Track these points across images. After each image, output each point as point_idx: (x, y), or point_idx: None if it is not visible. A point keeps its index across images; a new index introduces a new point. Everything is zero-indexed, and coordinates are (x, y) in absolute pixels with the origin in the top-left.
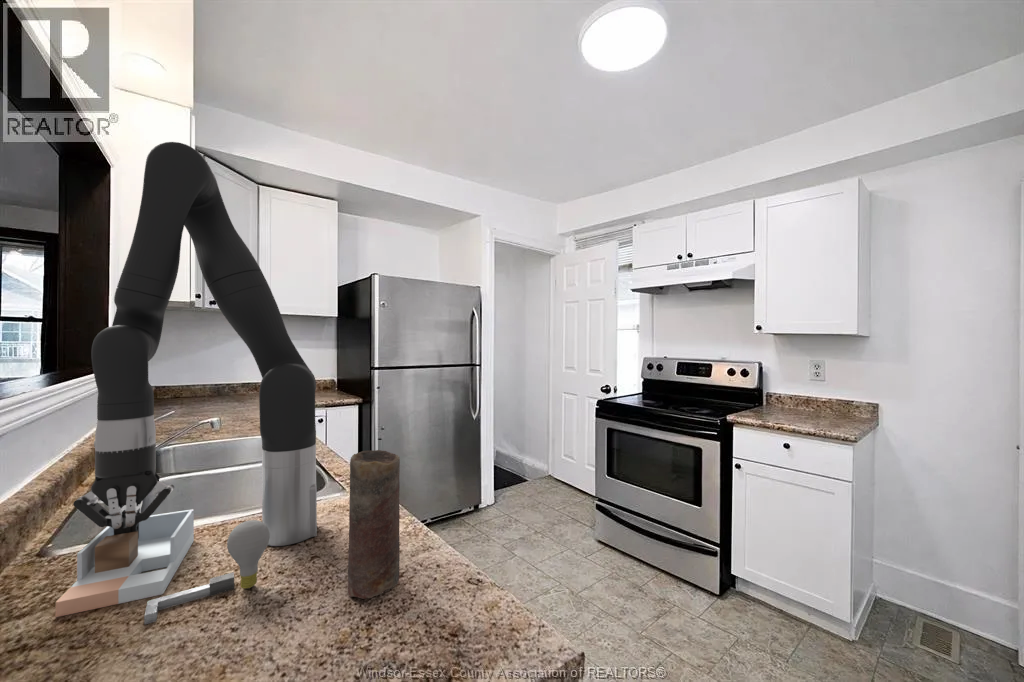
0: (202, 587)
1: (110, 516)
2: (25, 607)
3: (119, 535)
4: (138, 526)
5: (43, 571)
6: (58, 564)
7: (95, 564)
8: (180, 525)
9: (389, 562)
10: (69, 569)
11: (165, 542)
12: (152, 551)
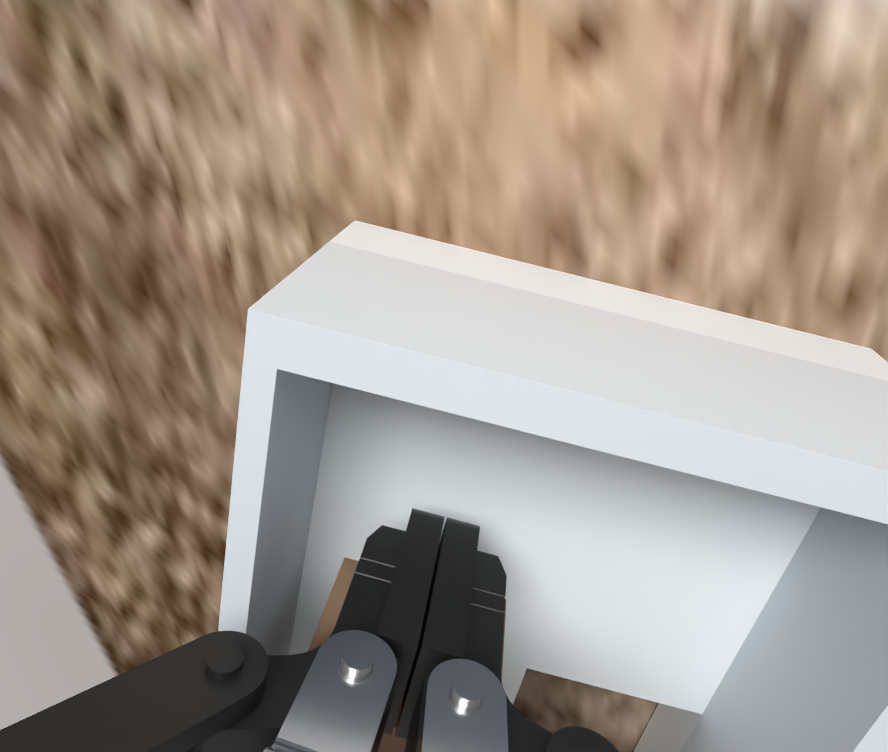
0: None
1: (237, 748)
2: (129, 618)
3: (379, 747)
4: (498, 665)
5: (6, 206)
6: (45, 130)
7: None
8: None
9: None
10: (151, 289)
11: (675, 500)
12: (585, 599)
